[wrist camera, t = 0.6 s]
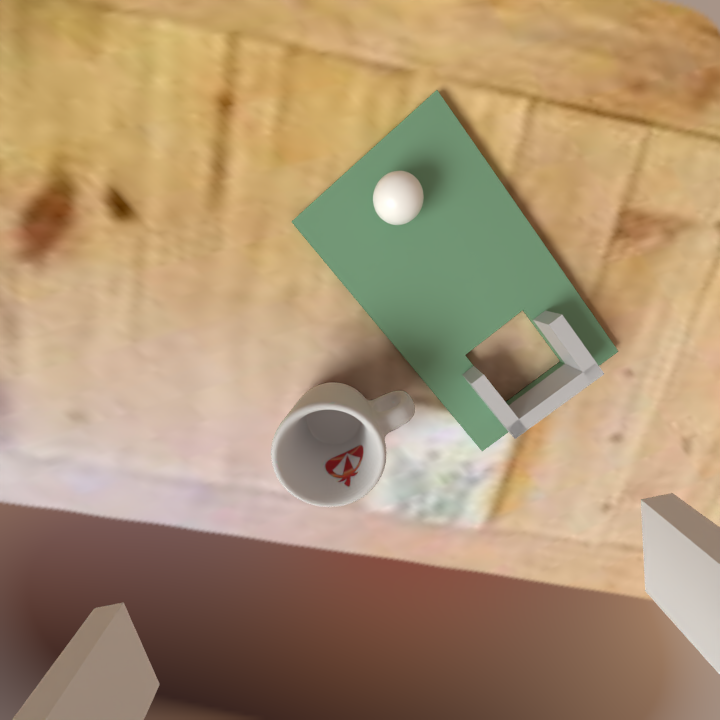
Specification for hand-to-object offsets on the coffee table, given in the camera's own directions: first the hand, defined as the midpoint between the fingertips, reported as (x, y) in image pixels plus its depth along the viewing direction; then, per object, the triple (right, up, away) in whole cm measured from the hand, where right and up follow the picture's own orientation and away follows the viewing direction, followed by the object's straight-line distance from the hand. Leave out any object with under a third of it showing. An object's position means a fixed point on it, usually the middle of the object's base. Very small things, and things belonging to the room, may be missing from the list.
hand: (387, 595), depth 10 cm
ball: (+2, +18, +18) cm, 26 cm away
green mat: (+7, +12, +23) cm, 27 cm away
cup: (-2, +2, +25) cm, 25 cm away
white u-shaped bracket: (+13, +5, +24) cm, 28 cm away
